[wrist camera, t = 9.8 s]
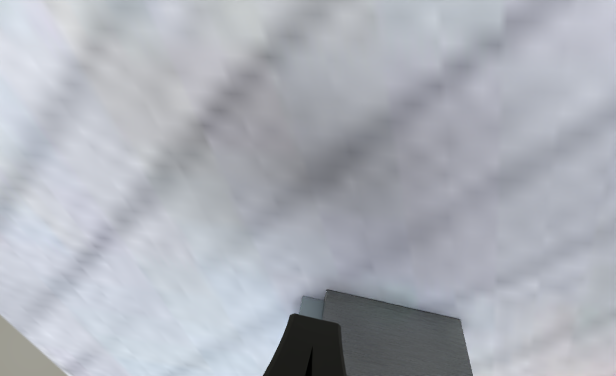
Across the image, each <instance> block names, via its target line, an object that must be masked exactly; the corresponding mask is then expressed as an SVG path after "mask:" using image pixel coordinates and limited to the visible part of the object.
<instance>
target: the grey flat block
mask: <svg viewBox="0 0 616 376" xmlns="http://www.w3.org/2000/svg"><path fill="white" fill-rule="evenodd" d="M321 320H326V321H330V322H334V323H338V324H339V325H340V326H341V336H342V347H343V355H344V362H345V368H346V374H347V376H473V374H472V369H471V365H470V361H469V356H468V352H467V347H466V343H465V338H464V334H463V329H462V325H461V321H460V320H459V319H455V318H450V317H446V316H441V315H437V314H433V313H428V312H424V311H419V310H415V309H410V308H406V307H401V306H397V305H392V304H388V303H384V302H379V301H375V300H370V299H366V298H361V297H357V296H352V295H348V294H344V293H339V292H335V291H330V290H327V292H326V295H325V299H324V304H323V311H322V318H321Z"/></svg>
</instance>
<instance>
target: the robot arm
mask: <svg viewBox="0 0 616 376" xmlns="http://www.w3.org/2000/svg"><path fill="white" fill-rule="evenodd" d="M263 376H347V374H346V368H345V362H344V355H343V347H342V336H341V326H340V325H339V324H338V323H334V322H330V321H326V320H321V319H317V318H312V317H308V316H304V315H299V314H295V313H294V314H292V315H290V317H289V320H288V324H287V327H286V329H285V332H284V334H283V337H282V339H281V341H280V344H279V346H278V348H277V350H276V352H275V354H274V356H273V358H272V360H271V362H270V364H269V366H268V367H267V369H266V371H265V373H264V375H263Z"/></svg>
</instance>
